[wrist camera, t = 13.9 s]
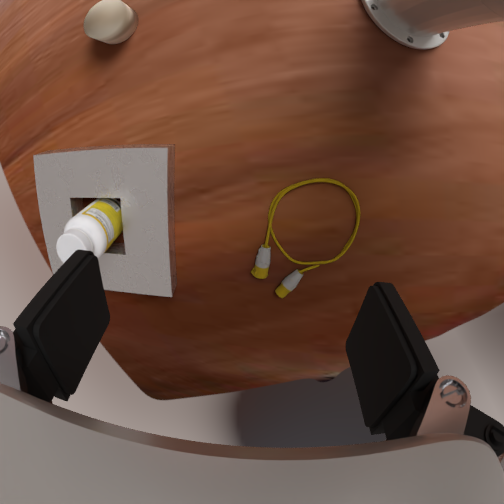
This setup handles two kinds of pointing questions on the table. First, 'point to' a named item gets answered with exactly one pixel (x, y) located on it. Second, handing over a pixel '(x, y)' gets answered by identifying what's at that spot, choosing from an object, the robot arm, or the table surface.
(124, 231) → the hole plate
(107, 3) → the short stub
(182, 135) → the table surface
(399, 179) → the table surface
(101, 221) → the supplement bottle
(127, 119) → the table surface
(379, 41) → the table surface
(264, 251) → the extension cord
